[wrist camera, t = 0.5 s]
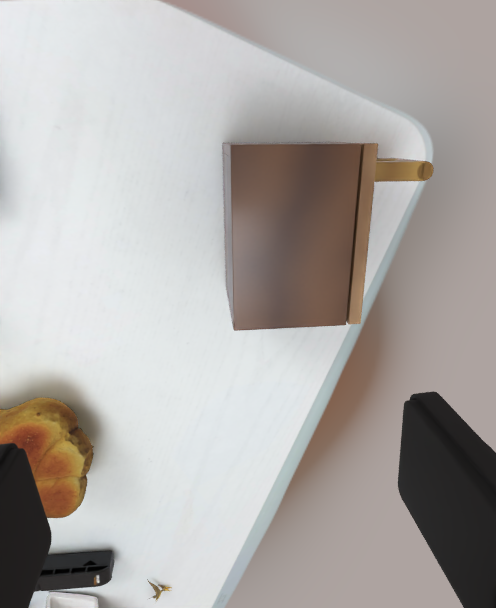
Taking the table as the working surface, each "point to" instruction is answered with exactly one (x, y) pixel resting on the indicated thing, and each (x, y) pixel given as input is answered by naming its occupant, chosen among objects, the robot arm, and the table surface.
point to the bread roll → (51, 451)
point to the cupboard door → (368, 174)
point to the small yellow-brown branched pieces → (158, 590)
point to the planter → (70, 600)
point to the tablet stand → (76, 570)
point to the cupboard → (289, 232)
